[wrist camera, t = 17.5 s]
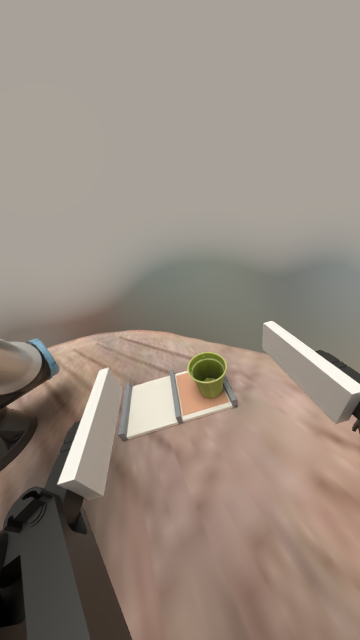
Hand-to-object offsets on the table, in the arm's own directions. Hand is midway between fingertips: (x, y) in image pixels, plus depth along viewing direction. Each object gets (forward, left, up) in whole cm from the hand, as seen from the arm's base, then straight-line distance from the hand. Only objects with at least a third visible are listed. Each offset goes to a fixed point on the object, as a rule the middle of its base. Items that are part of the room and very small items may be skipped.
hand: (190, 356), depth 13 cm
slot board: (+4, +18, -30) cm, 35 cm away
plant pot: (+12, +12, -29) cm, 34 cm away
